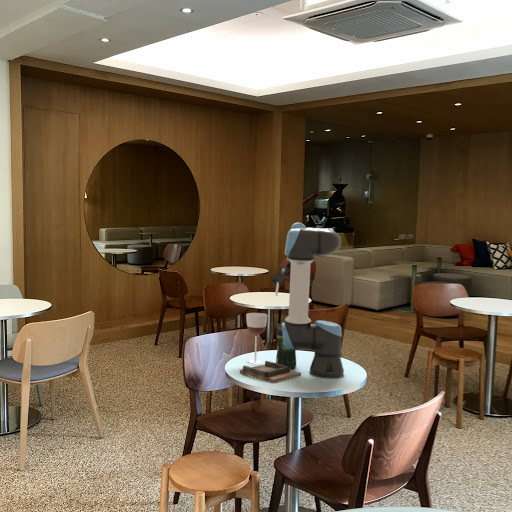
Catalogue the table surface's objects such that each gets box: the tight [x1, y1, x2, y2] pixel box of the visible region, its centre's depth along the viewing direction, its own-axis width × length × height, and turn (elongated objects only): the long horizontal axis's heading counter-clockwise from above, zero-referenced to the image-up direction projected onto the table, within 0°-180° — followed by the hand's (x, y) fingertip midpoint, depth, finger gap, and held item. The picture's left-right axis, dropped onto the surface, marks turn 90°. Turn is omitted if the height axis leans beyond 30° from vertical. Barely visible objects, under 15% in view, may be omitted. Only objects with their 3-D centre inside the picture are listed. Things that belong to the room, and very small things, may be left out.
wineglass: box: [245, 312, 268, 363], centre depth 270 cm, size 9×10×23 cm
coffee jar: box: [275, 326, 297, 369], centre depth 263 cm, size 10×8×19 cm
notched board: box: [239, 360, 302, 384], centre depth 249 cm, size 20×18×4 cm
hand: (290, 295), depth 273 cm, fingers open, 13 cm apart
